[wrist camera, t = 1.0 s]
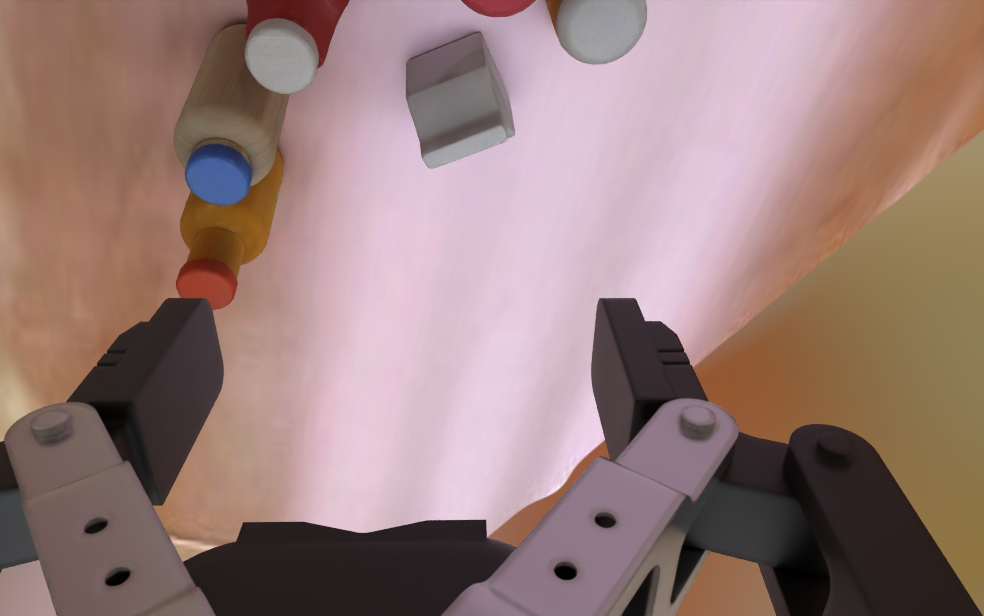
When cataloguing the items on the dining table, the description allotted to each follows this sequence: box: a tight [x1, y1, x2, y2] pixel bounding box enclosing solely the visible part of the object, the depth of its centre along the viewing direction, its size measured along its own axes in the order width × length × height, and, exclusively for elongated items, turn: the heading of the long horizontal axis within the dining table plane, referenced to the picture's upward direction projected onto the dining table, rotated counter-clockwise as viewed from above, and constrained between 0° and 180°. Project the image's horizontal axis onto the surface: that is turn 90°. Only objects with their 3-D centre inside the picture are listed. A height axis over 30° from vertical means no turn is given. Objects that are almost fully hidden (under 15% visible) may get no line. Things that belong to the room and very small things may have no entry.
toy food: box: [174, 0, 647, 310], centre depth 35 cm, size 27×13×12 cm, turn 110°
